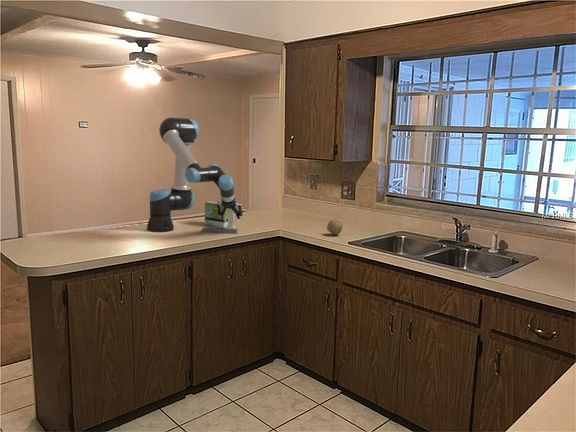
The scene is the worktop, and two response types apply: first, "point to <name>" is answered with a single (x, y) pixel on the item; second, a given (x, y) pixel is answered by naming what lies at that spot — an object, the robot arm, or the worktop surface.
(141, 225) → the worktop surface
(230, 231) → the fader console
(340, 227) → the natural sponge
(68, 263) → the worktop surface
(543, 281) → the worktop surface
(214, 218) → the tea box
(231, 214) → the fader tab
